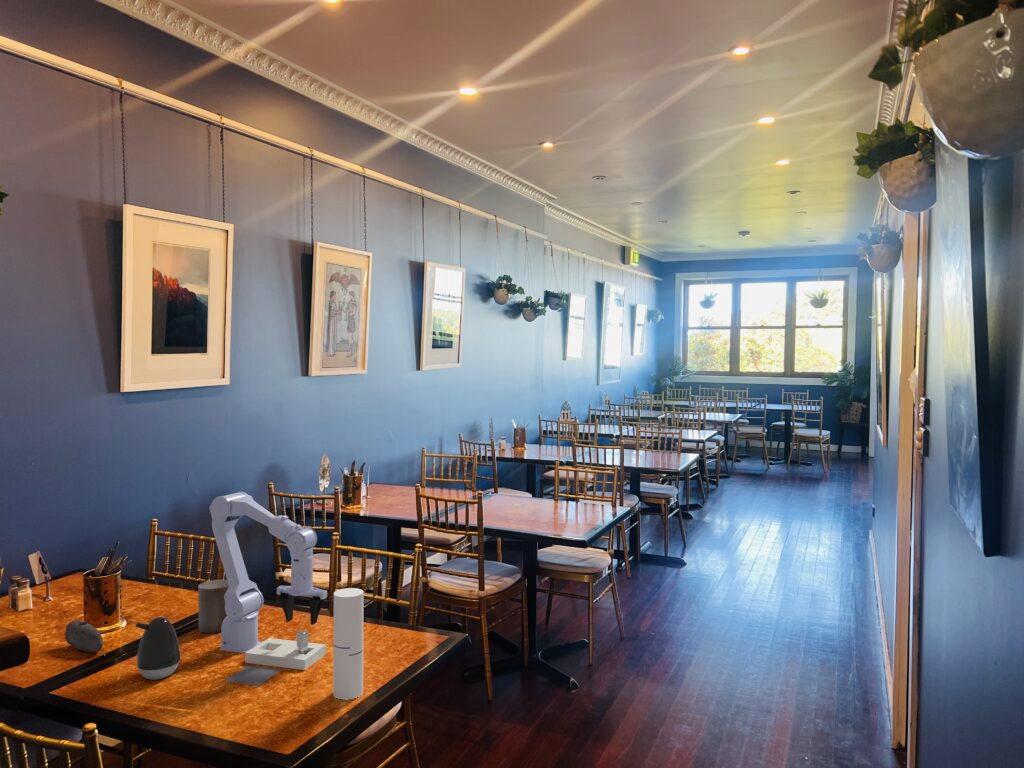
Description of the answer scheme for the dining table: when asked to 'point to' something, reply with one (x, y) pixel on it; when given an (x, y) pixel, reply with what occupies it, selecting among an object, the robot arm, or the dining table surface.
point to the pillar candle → (212, 605)
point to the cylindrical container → (348, 643)
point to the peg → (302, 642)
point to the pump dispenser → (158, 649)
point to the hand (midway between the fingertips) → (301, 622)
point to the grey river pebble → (83, 636)
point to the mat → (253, 675)
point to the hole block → (284, 654)
